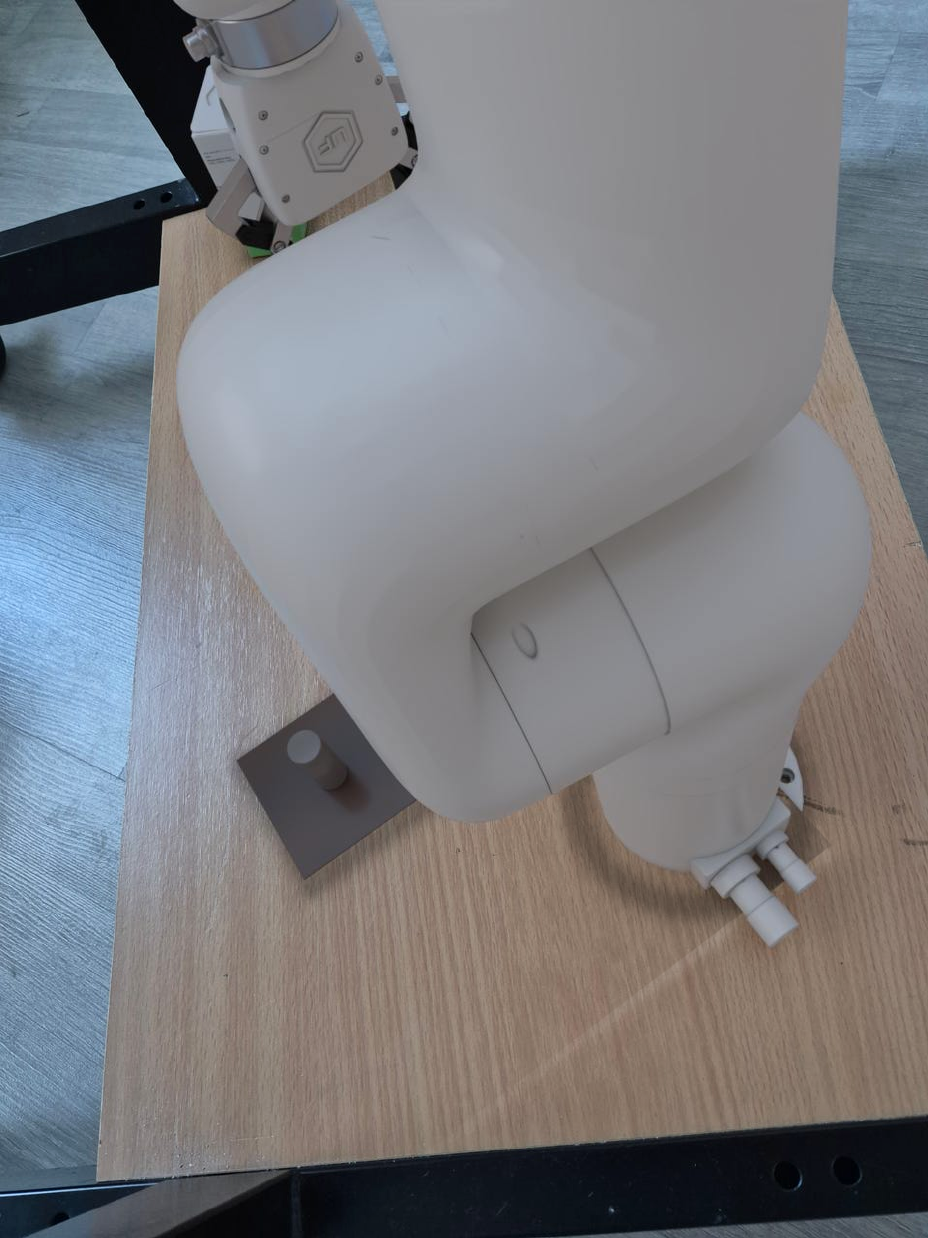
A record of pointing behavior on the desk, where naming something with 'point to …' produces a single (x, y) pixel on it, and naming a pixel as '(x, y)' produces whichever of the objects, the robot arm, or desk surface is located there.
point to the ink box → (224, 152)
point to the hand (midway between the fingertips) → (359, 247)
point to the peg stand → (322, 785)
